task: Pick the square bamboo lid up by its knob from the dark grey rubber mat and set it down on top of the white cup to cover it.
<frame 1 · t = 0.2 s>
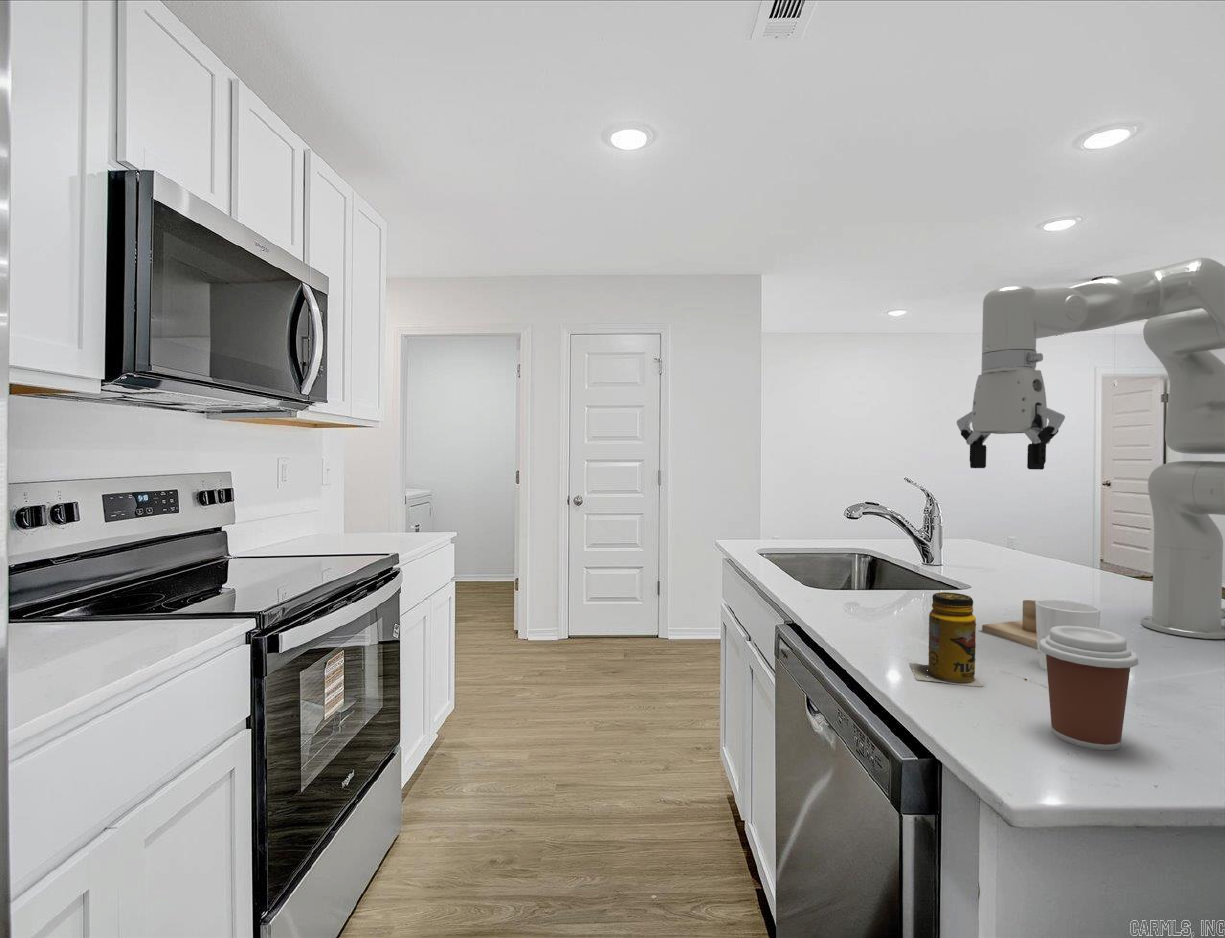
hand: (1005, 468, 103), 30 cm above the countertop, tool pointing down, fingers open, 9 cm apart
white cup: (1065, 672, 94), on the countertop
lid: (1032, 637, 111), resting on mat
mat: (1032, 639, 111), on the countertop
coffee cup: (1084, 739, 72), on the countertop
condiment: (944, 677, 92), on the countertop
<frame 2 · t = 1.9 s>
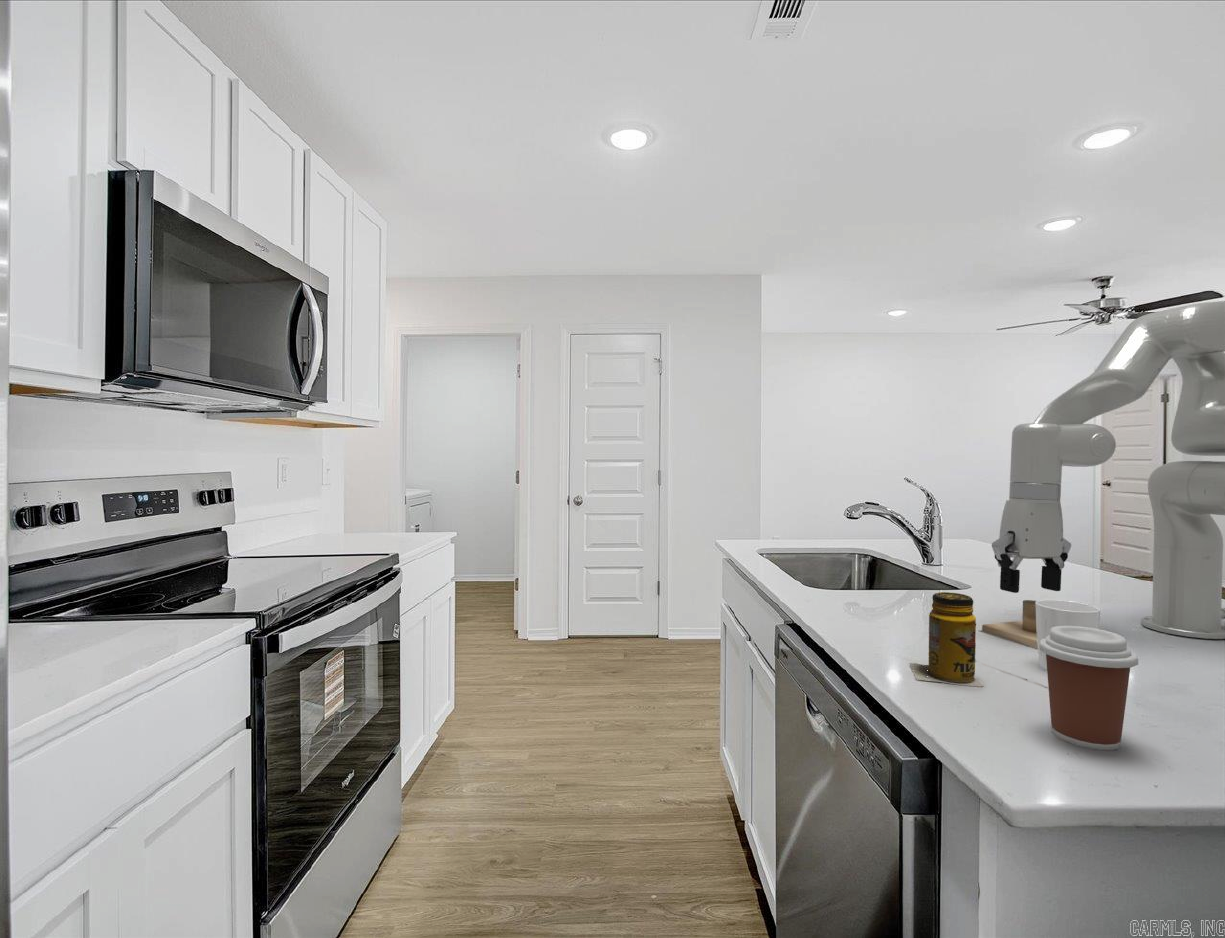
hand: (1030, 590, 111), 9 cm above the countertop, tool pointing down, fingers open, 9 cm apart
nothing on the countertop moved.
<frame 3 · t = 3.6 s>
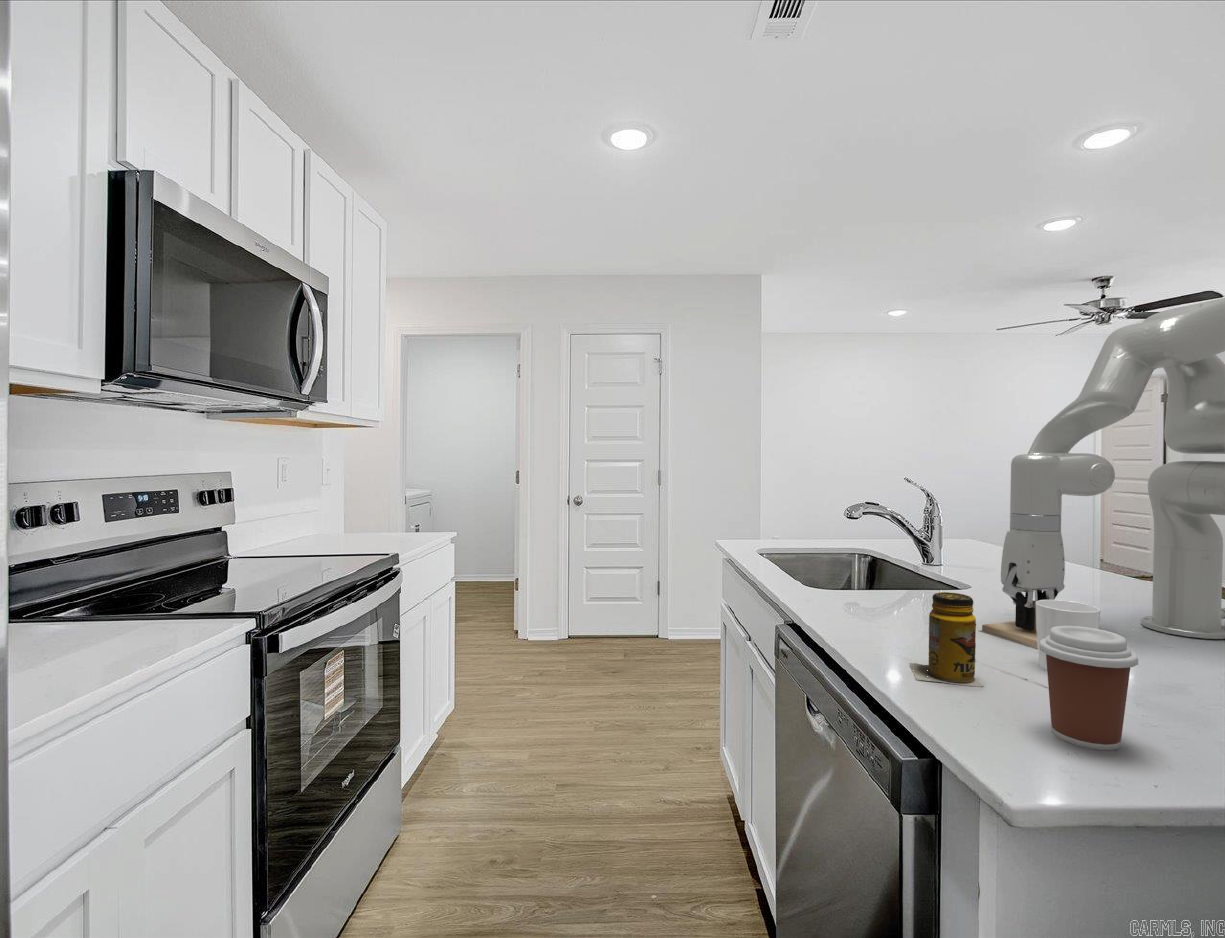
hand: (1033, 626, 111), 2 cm above the countertop, tool pointing down, fingers closed on lid, 3 cm apart
lid: (1032, 637, 111), resting on mat, touching gripper
everything else where it was.
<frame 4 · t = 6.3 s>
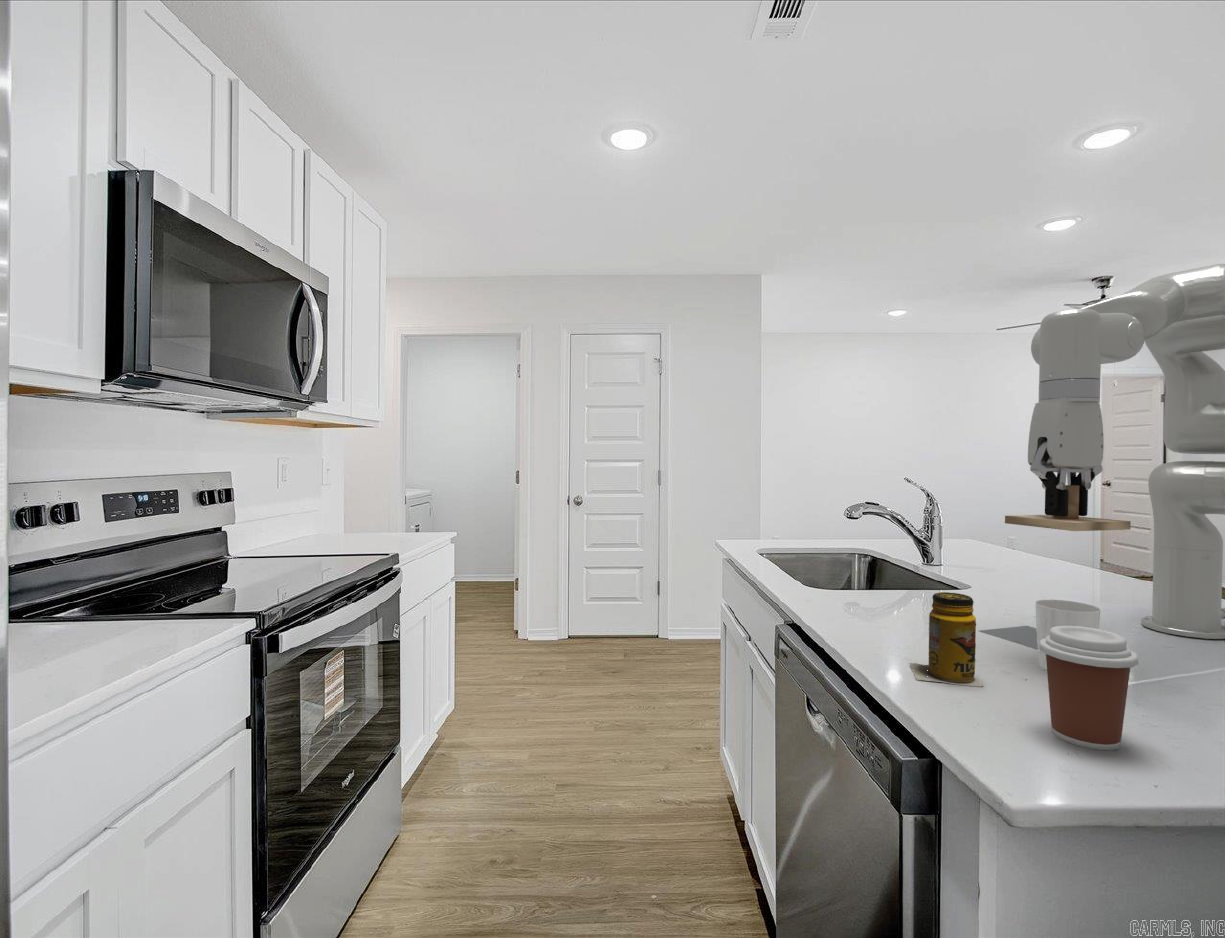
hand: (1065, 514, 95), 24 cm above the countertop, tool pointing down, fingers closed on lid, 3 cm apart
lid: (1065, 526, 95), point 22 cm above the countertop, touching gripper
everything else where it was.
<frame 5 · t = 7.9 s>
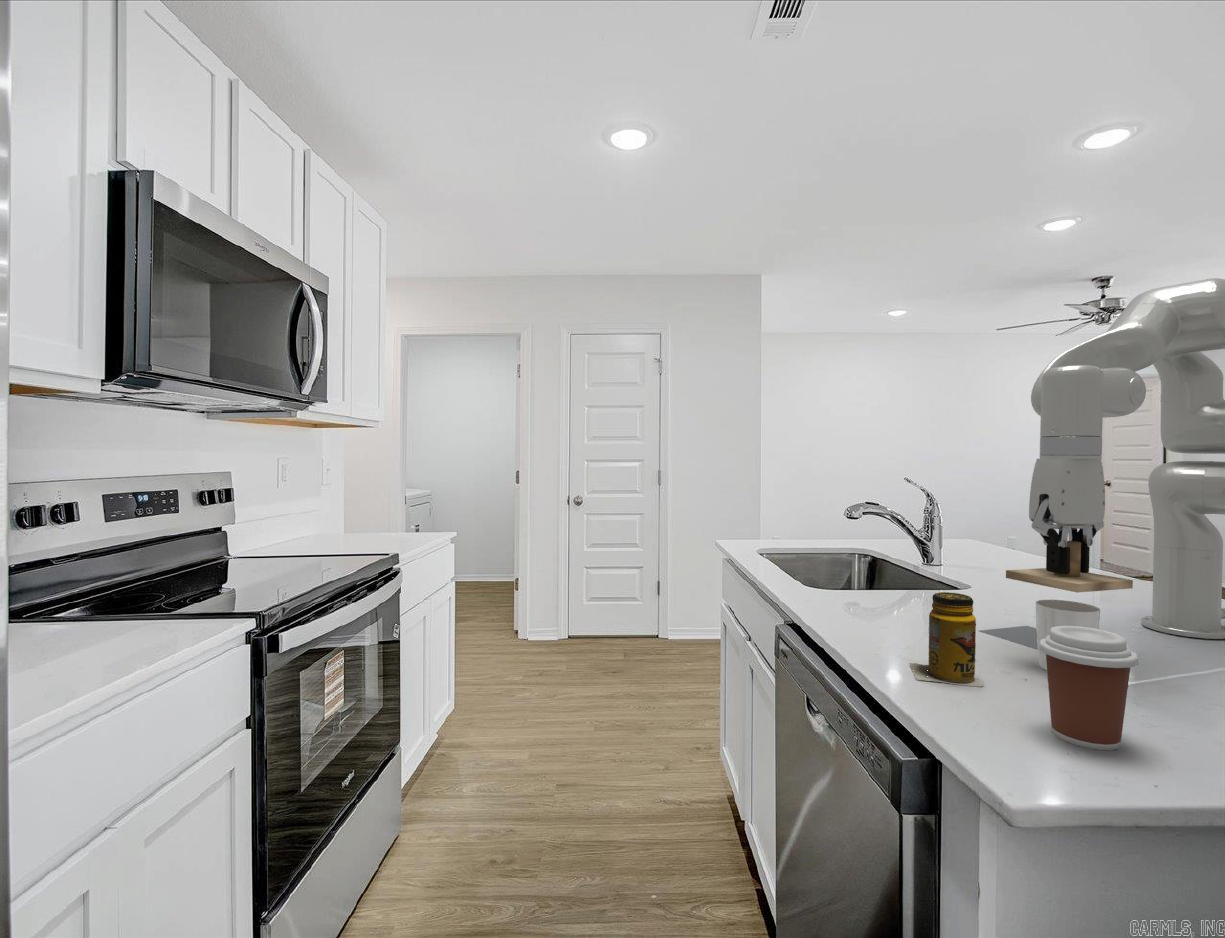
hand: (1067, 571, 94), 15 cm above the countertop, tool pointing down, fingers closed on lid, 3 cm apart
lid: (1066, 583, 94), point 13 cm above the countertop, touching gripper
everything else where it was.
when the fingers open (13 cm above the countertop, at t = 9.0 s): lid drops 1 cm, resting on white cup.
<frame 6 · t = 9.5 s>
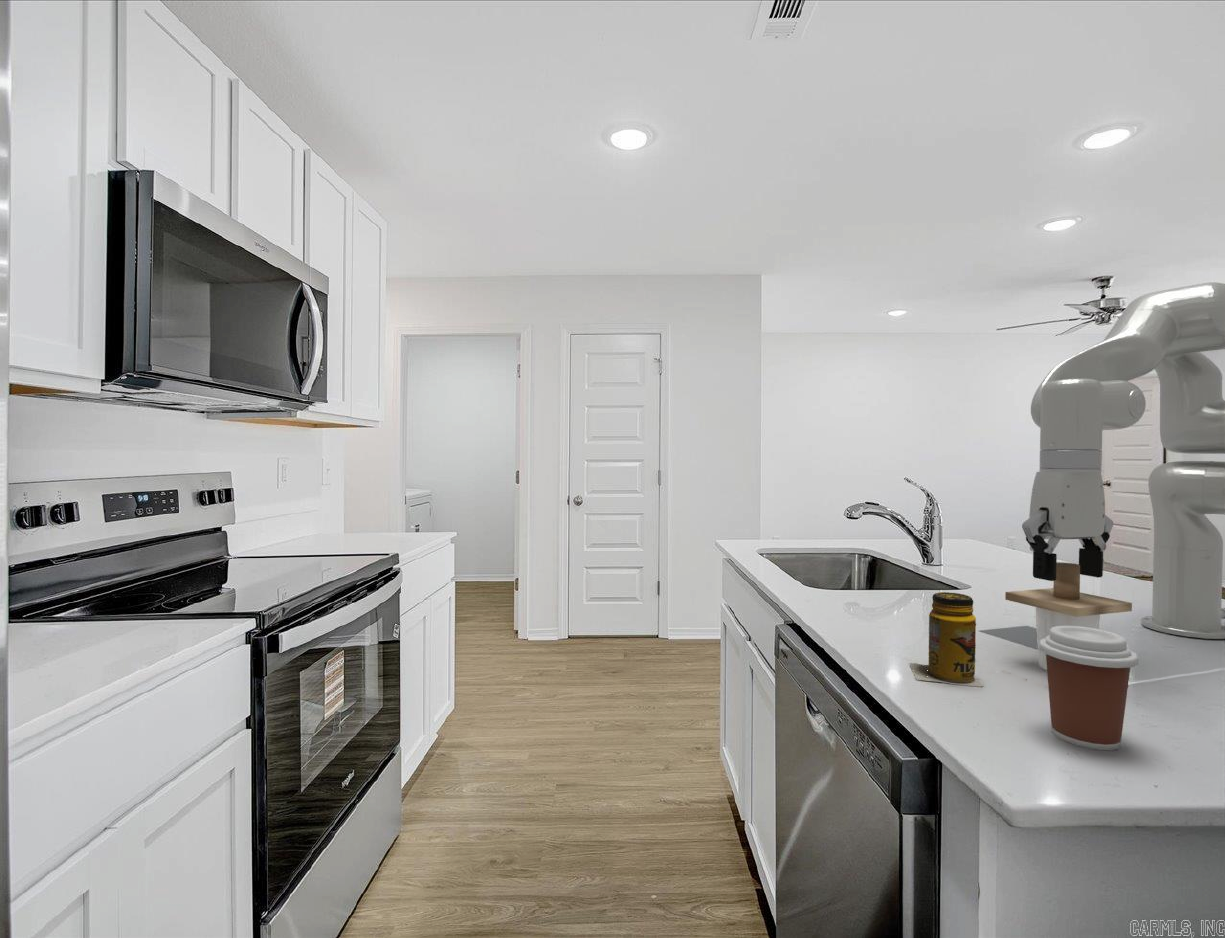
hand: (1067, 577, 94), 14 cm above the countertop, tool pointing down, fingers open, 9 cm apart
white cup: (1065, 672, 94), on the countertop, touching lid
lid: (1066, 605, 94), point 10 cm above the countertop, touching white cup
everything else where it was.
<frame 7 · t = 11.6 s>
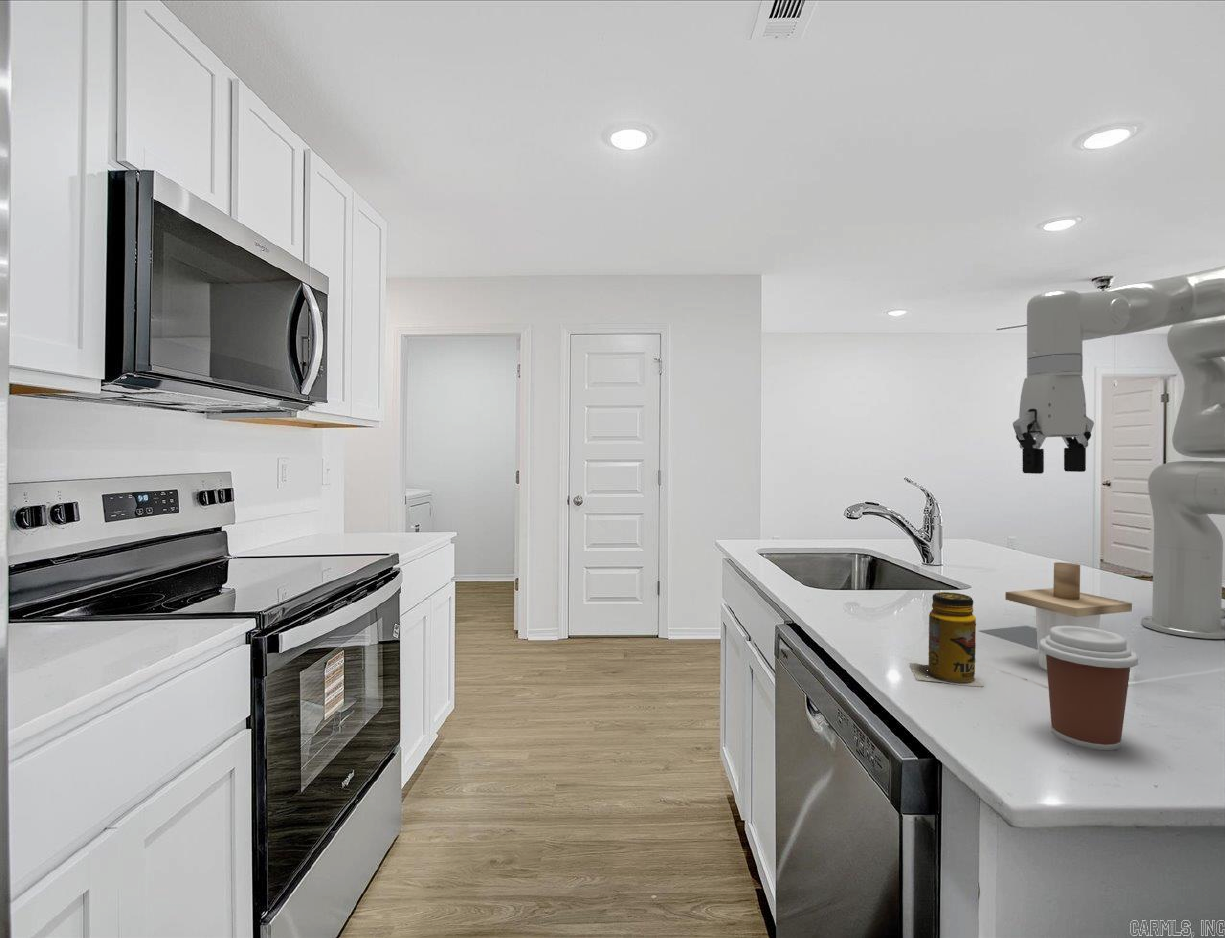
hand: (1054, 472, 104), 30 cm above the countertop, tool pointing down, fingers open, 9 cm apart
nothing on the countertop moved.
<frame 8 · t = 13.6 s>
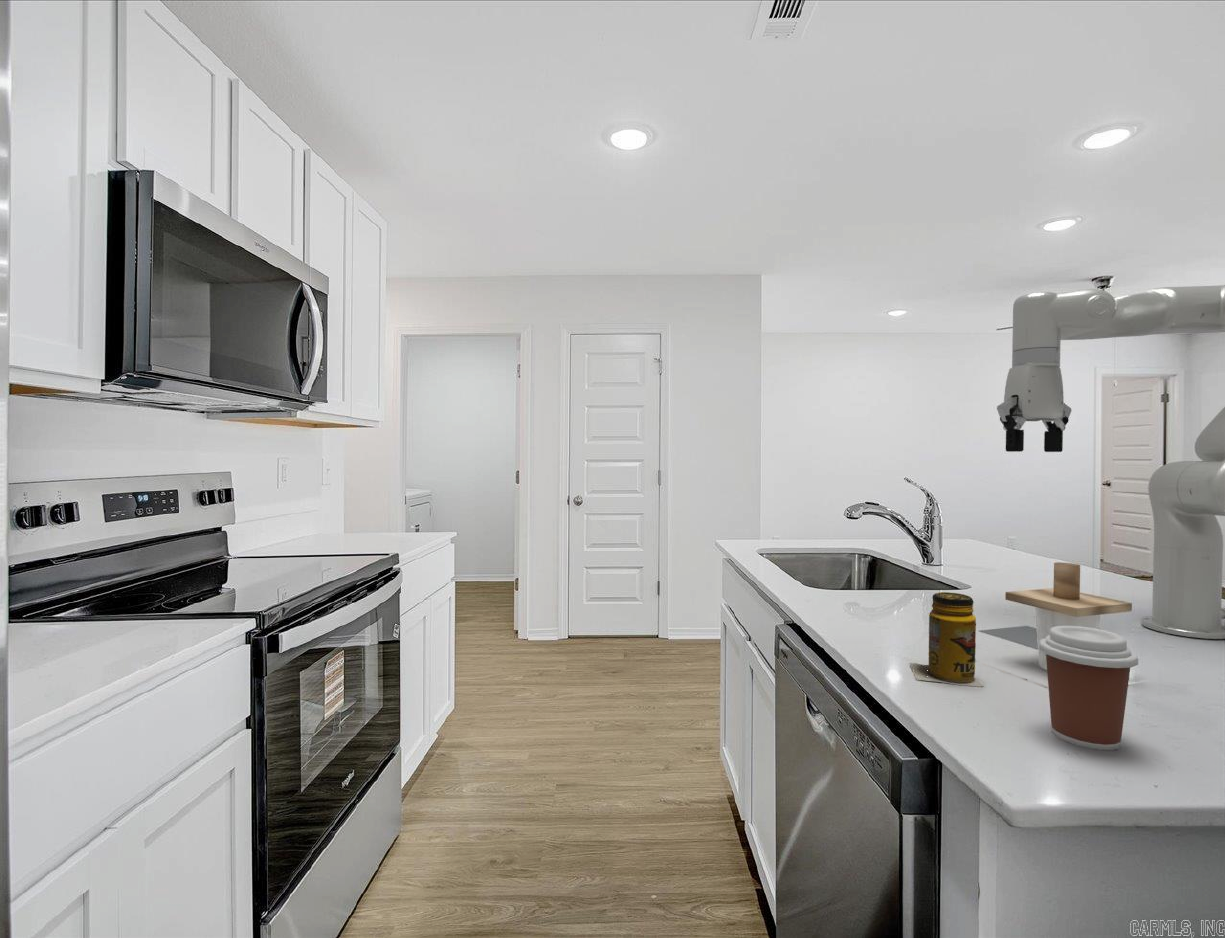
hand: (1034, 451, 118), 33 cm above the countertop, tool pointing down, fingers open, 9 cm apart
nothing on the countertop moved.
at the end: lid 0.1 cm off-centre on the white cup, point 10.2 cm above the white cup's base; lid tilted 0°; white cup tilted 0° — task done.
